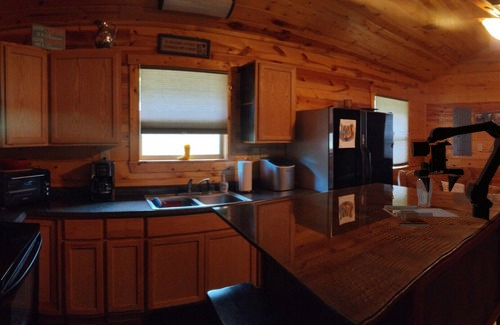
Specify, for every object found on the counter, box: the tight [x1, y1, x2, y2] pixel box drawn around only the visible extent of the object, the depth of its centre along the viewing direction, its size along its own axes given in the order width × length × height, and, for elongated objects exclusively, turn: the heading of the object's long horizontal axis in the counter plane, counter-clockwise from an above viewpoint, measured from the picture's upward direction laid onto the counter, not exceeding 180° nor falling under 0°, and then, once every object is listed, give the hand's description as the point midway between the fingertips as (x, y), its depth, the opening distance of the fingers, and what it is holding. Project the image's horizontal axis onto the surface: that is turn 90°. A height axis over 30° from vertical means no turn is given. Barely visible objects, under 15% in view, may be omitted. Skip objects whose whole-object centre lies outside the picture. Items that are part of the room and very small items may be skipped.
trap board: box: [382, 205, 461, 218], centre depth 148 cm, size 17×27×3 cm, turn 85°
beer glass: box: [416, 177, 433, 208], centre depth 162 cm, size 7×7×15 cm
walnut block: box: [400, 210, 419, 222], centre depth 135 cm, size 5×5×4 cm
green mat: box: [396, 222, 430, 227], centre depth 134 cm, size 11×11×1 cm
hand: (438, 192), depth 141 cm, fingers open, 9 cm apart
